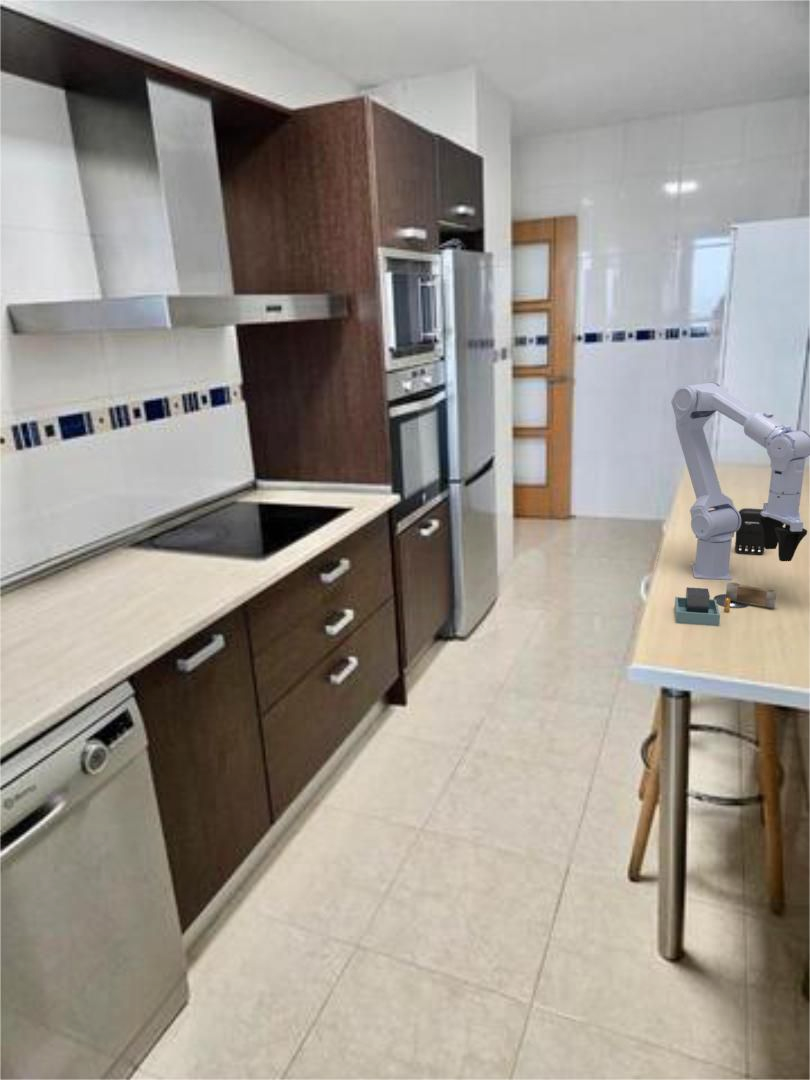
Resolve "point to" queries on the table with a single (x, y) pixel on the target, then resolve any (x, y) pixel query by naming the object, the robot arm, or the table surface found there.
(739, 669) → the table surface
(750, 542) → the battery charger
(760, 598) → the crank
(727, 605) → the crank base
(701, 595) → the block
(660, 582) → the table surface
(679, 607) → the tray
